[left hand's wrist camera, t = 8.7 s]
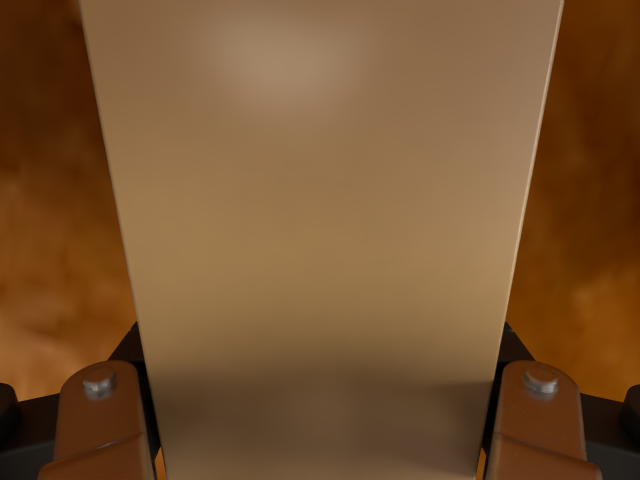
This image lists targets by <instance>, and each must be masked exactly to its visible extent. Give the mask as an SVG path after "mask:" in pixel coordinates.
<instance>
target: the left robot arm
mask: <svg viewBox="0 0 640 480" xmlns="http://www.w3.org/2000/svg"><path fill="white" fill-rule="evenodd" d="M160 447H161V444H160V439H159V434H158V428H157V423H156V418H155V412H154V407H153V402H152V396H151V391H150V386H149V380H148V375H147V370H146V364H145V359H144V354H143V348H142V343H141V337H140V332H139V327H138V322H135V324H134V325H133V326H132V328H131V331H129V332H128V333H127V334H126V336H125V337H124V338H123V340H122V341H121V343H120V344H119V345H118V347H117V348H116V349H115V351H114V352H113V353H112V355H111V356H110V357H109V359H108V360H107V361H103V362H99V363H95V364H92V365H90V366H87V367H85V368H83V369H81V370H80V371H78V372H76V373H75V374H73V375H72V376H71V377H70V378H69V379H68V380H67V381H66V382H65V383H64V384H63V386H62V388H61V391H60V393H57V394H53V395H49V396H44V397H39V398H35V399H30V400H25V401H21V402H18V400H17V397H16V394H15V391H14V389H13V387H11V386H10V385H8V384H4V383H0V480H158V477H157V471H156V465H155V458H156V456H157V453H158V451H159V449H160ZM481 448H483V449H484V452H485V454H486V460H485V465H484V471H483V477H482V480H640V384H639V385H635V386H632V387H631V388H629V390H628V391H627V394H626V397H625V400H624V403H623V402H618V401H614V400H609V399H604V398H599V397H595V396H590V395H586V394H582V393H580V391H579V388H578V386H577V384H576V383H575V382H574V381H573V380H572V379H571V378H570V377H569V376H568V375H567V374H565V373H564V372H562V371H560V370H559V369H557V368H555V367H553V366H550V365H548V364H545V363H541V362H537V361H535V359H534V358H533V357H532V355H531V354H530V353H529V351H528V350H527V349H526V347H525V346H524V345H523V343H522V342H521V341H520V339H519V338H518V337H517V335H516V334H515V333H514V332H512V328H511V327H510V326H509V324H508V323H507V322H504V327H503V333H502V338H501V343H500V349H499V354H498V360H497V365H496V370H495V376H494V381H493V386H492V392H491V397H490V402H489V408H488V413H487V418H486V424H485V429H484V435H483V440H482V445H481Z"/></svg>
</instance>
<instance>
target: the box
mask: <svg viewBox="0 0 640 480" xmlns="http://www.w3.org/2000/svg"><path fill="white" fill-rule="evenodd" d="M564 1H565V0H78V6H79V11H80V16H81V22H82V27H83V32H84V38H85V43H86V49H87V54H88V59H89V65H90V70H91V75H92V81H93V86H94V91H95V97H96V102H97V107H98V113H99V118H100V123H101V129H102V134H103V139H104V145H105V150H106V156H107V161H108V166H109V172H110V177H111V182H112V188H113V193H114V198H115V204H116V209H117V214H118V220H119V225H120V230H121V236H122V241H123V246H124V252H125V257H126V263H127V268H128V273H129V279H130V284H131V289H132V295H133V300H134V305H135V311H136V316H137V321H138V327H139V332H140V337H141V343H142V348H143V354H144V359H145V364H146V370H147V375H148V380H149V386H150V391H151V396H152V402H153V407H154V412H155V418H156V423H157V428H158V434H159V439H160V444H161V450H162V455H163V461H164V466H165V471H166V477H167V480H475V477H476V472H477V467H478V461H479V456H480V451H481V445H482V440H483V435H484V429H485V424H486V418H487V413H488V408H489V402H490V397H491V392H492V386H493V381H494V376H495V370H496V365H497V360H498V354H499V349H500V343H501V338H502V333H503V327H504V322H505V317H506V311H507V306H508V301H509V295H510V290H511V285H512V279H513V274H514V268H515V263H516V258H517V252H518V247H519V242H520V236H521V231H522V226H523V220H524V215H525V210H526V204H527V199H528V194H529V188H530V183H531V177H532V172H533V167H534V161H535V156H536V151H537V145H538V140H539V135H540V129H541V124H542V119H543V113H544V108H545V102H546V97H547V92H548V86H549V81H550V76H551V70H552V65H553V60H554V54H555V49H556V44H557V38H558V33H559V27H560V22H561V17H562V11H563V6H564Z"/></svg>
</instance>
